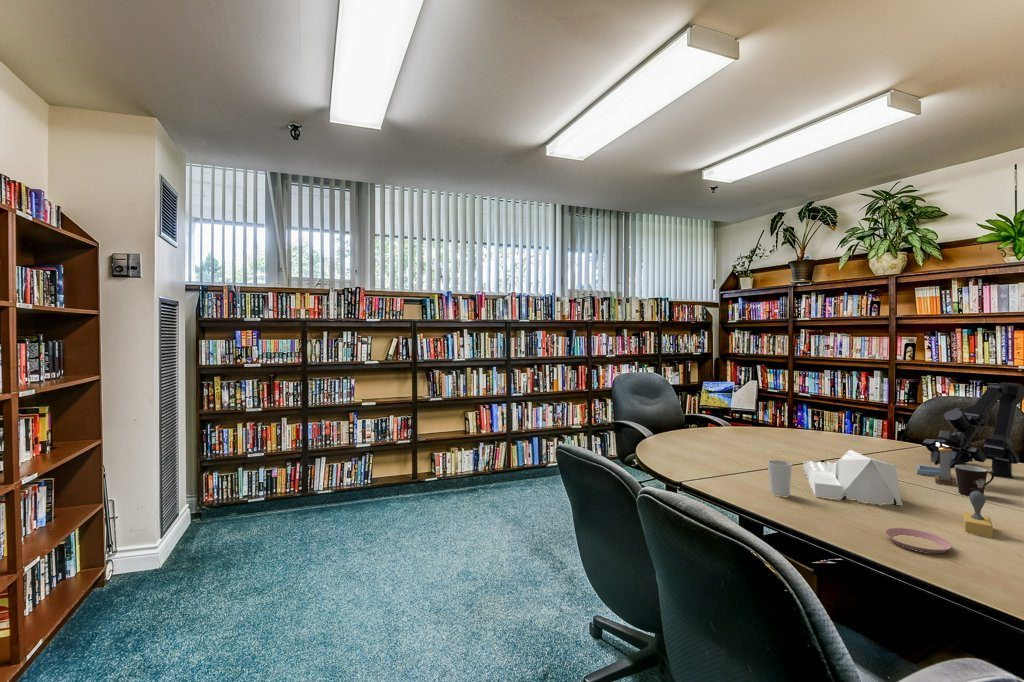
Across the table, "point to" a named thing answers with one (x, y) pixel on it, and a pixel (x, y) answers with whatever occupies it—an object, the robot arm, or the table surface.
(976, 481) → the coffee mug
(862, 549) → the table surface
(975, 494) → the rubber stamp
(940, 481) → the block
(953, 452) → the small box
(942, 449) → the pin
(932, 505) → the table surface
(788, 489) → the cup
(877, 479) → the white faceted model
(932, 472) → the tray
